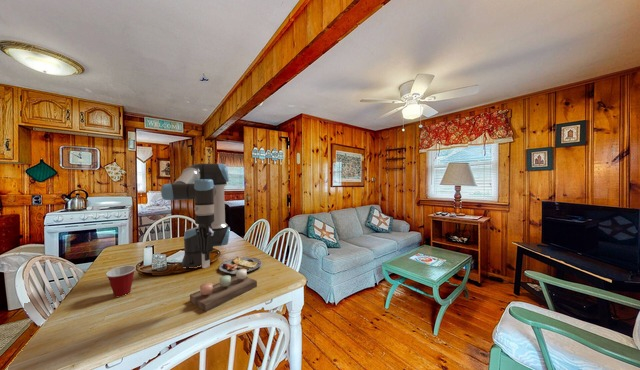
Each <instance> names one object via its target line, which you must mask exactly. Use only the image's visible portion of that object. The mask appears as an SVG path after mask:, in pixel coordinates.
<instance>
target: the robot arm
mask: <svg viewBox="0 0 640 370" xmlns="http://www.w3.org/2000/svg"><path fill="white" fill-rule="evenodd" d="M229 177H230V176H229V170H228V167H227V165H226V164H224V163H219V162H218V163H196V164H192V165H190V166H189V165H188V166H187V167H186V168H184V169H183V170H182V172H181V174H180V176H179V177H178V178H176V180H175V181H174V182H173V183H170V182H169V183H164V184H162V185H161V189H160V194H161V199H162V200H164V201H181V200H183V201H185V200H186V201H187V200H194V208H193V210H194V214H195V216H194V222H195V223H194V224H196V225H198V226H196V227H193V228H189V229H187V230H185V231H184V235H183V243H184V245H183V247H184V253H183V254H184V255H183V258H182V262H181V268H182V267H186V268H189V267H197V266H200V265H202V267H201V268H202V269H206V268H208V267H209V268H210V267H211V266H210V264H211V263H210V262H211V261H210V255H211V254H210V253H211V252H212V253H213V251H214V247H223V246H226V245H229V241H230V231H231V227H230V226H229V225H228V224H227V223H226V209H225V208H226V201H225V187H226V186H227V183H228V182H230V178H229Z"/></svg>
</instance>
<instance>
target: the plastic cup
mask: <svg viewBox="0 0 640 370" xmlns="http://www.w3.org/2000/svg"><path fill="white" fill-rule="evenodd" d="M136 270H137V267H136V266H135V265H133V264H131V265H130V264H129V265H121V266H117V267H115V268H112V269H110V270H108V271H107V272H106V273H105V277H107V279H108V281H109V284H110V287H111V290H112V292H113V296H122V295H125V294H127V295H129V294H130V293H131V291H132V285H133V279H134V274H135V271H136ZM129 292H130V293H129ZM128 293H129V294H128ZM125 296H126V295H125ZM122 297H123V296H122Z"/></svg>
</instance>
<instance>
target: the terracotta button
mask: <svg viewBox="0 0 640 370" xmlns="http://www.w3.org/2000/svg"><path fill="white" fill-rule="evenodd" d="M213 285H214V283H212V282H205V283H202V284H201V285H200V286H199V291H200V294H201V295H207V294H210V293H211V292H213Z"/></svg>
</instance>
